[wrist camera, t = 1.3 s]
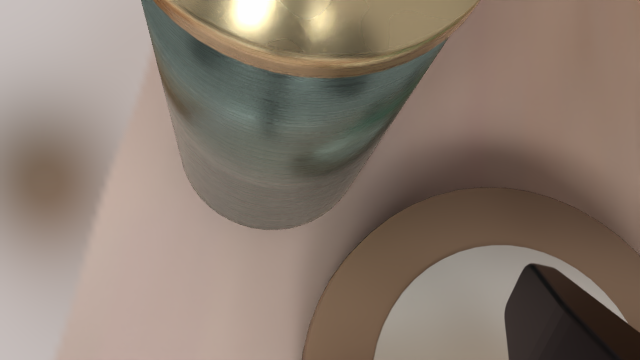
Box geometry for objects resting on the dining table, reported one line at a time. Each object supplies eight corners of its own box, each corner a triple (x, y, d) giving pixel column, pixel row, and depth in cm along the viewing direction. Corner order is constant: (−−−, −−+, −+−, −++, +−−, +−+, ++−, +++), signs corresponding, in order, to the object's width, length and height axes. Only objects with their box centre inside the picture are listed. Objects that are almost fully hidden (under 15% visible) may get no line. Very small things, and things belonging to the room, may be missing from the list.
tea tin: (380, 214, 22) (568, 26, 10) (193, 249, 21) (133, 82, 8) (340, 48, 24) (455, -291, 11) (164, 71, 22) (80, -283, 10)
